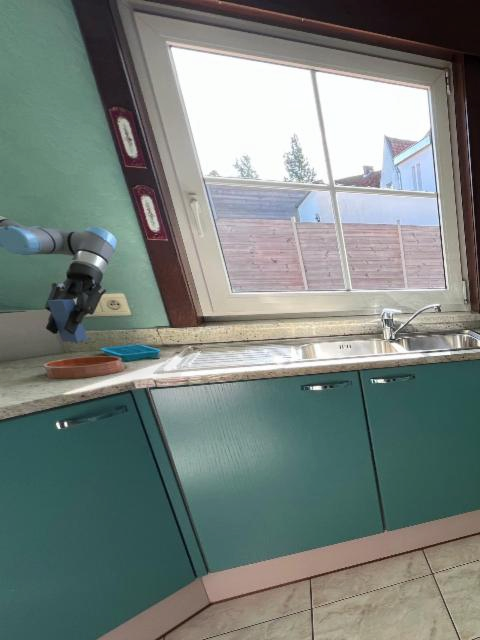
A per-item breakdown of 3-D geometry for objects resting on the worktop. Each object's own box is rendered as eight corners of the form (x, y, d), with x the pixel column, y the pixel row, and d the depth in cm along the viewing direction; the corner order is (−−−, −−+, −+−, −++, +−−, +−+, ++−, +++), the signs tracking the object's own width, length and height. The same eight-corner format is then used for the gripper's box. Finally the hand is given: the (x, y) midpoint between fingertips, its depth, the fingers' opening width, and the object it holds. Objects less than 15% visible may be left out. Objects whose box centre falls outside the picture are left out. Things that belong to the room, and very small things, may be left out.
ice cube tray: (142, 352, 187) (139, 344, 186) (165, 358, 177) (162, 350, 176) (101, 356, 178) (98, 348, 176) (123, 364, 168) (120, 355, 167)
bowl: (41, 383, 143) (36, 369, 142) (56, 371, 156) (51, 359, 155) (120, 376, 152) (116, 363, 151) (129, 366, 165) (125, 354, 164)
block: (62, 341, 148) (46, 300, 144) (73, 339, 152) (59, 299, 147) (77, 341, 149) (62, 300, 144) (88, 339, 152) (74, 299, 148)
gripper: (126, 279, 159) (102, 339, 150) (66, 278, 157) (39, 338, 148) (107, 262, 152) (81, 323, 143) (45, 260, 150) (15, 322, 141)
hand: (60, 331), depth 146 cm, fingers closed on block, 4 cm apart
